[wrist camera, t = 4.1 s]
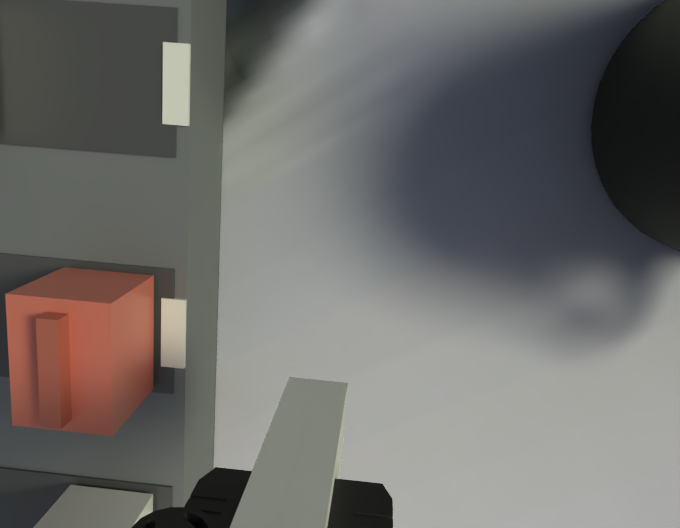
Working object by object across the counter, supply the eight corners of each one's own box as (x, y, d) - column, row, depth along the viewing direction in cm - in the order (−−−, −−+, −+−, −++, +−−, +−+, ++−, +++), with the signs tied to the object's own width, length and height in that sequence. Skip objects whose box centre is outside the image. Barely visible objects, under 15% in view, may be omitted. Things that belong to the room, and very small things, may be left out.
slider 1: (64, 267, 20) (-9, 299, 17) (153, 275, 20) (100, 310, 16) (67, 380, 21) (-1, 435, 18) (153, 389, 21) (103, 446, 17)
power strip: (-118, -237, 21) (-236, -321, 17) (232, -222, 21) (194, -306, 17) (-53, 528, 28) (-127, 597, 24) (210, 560, 28) (179, 635, 23)
